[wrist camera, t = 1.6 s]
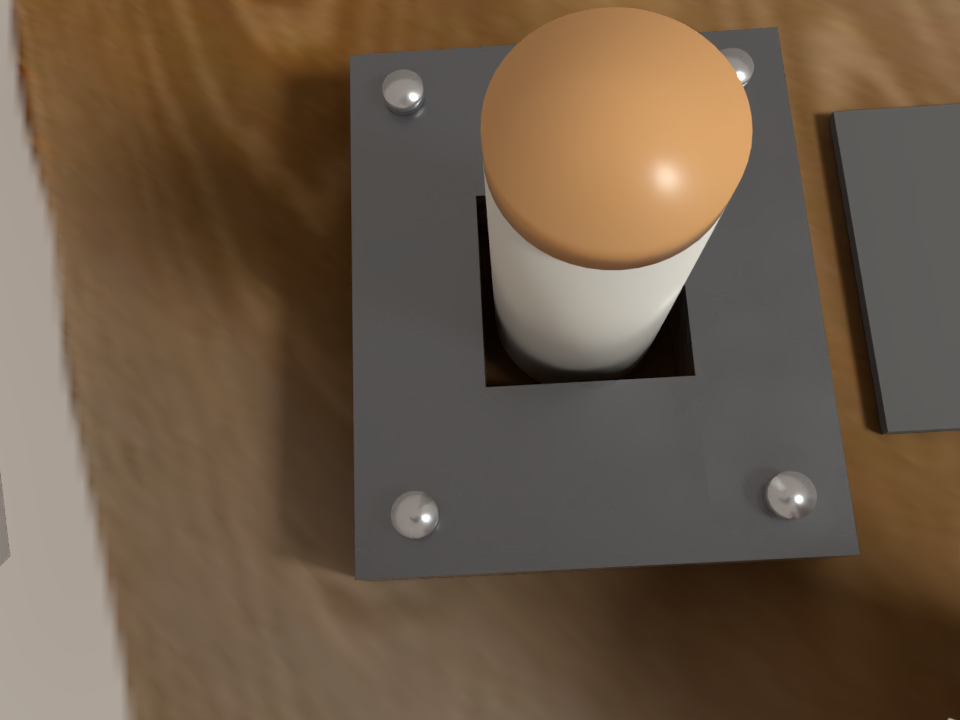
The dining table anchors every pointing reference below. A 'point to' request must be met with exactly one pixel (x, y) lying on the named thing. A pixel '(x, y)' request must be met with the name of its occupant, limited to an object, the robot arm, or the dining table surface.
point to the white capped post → (604, 184)
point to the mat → (906, 256)
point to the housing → (579, 405)
